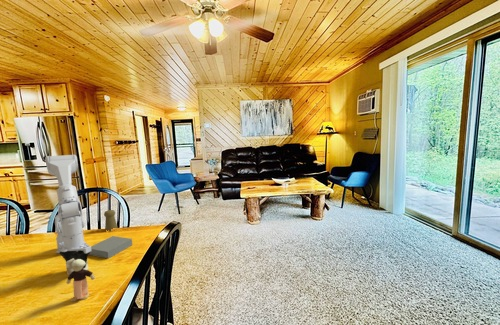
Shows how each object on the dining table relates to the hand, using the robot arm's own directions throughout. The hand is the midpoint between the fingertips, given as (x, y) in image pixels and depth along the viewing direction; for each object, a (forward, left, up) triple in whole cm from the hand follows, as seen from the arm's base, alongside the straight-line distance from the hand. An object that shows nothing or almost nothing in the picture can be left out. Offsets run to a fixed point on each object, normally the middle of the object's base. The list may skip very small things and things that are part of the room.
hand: (77, 267), depth 80 cm
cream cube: (0, 0, -2) cm, 2 cm away
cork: (-24, +33, -2) cm, 41 cm away
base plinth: (-3, +16, -2) cm, 16 cm away
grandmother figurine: (+16, -9, -2) cm, 18 cm away
